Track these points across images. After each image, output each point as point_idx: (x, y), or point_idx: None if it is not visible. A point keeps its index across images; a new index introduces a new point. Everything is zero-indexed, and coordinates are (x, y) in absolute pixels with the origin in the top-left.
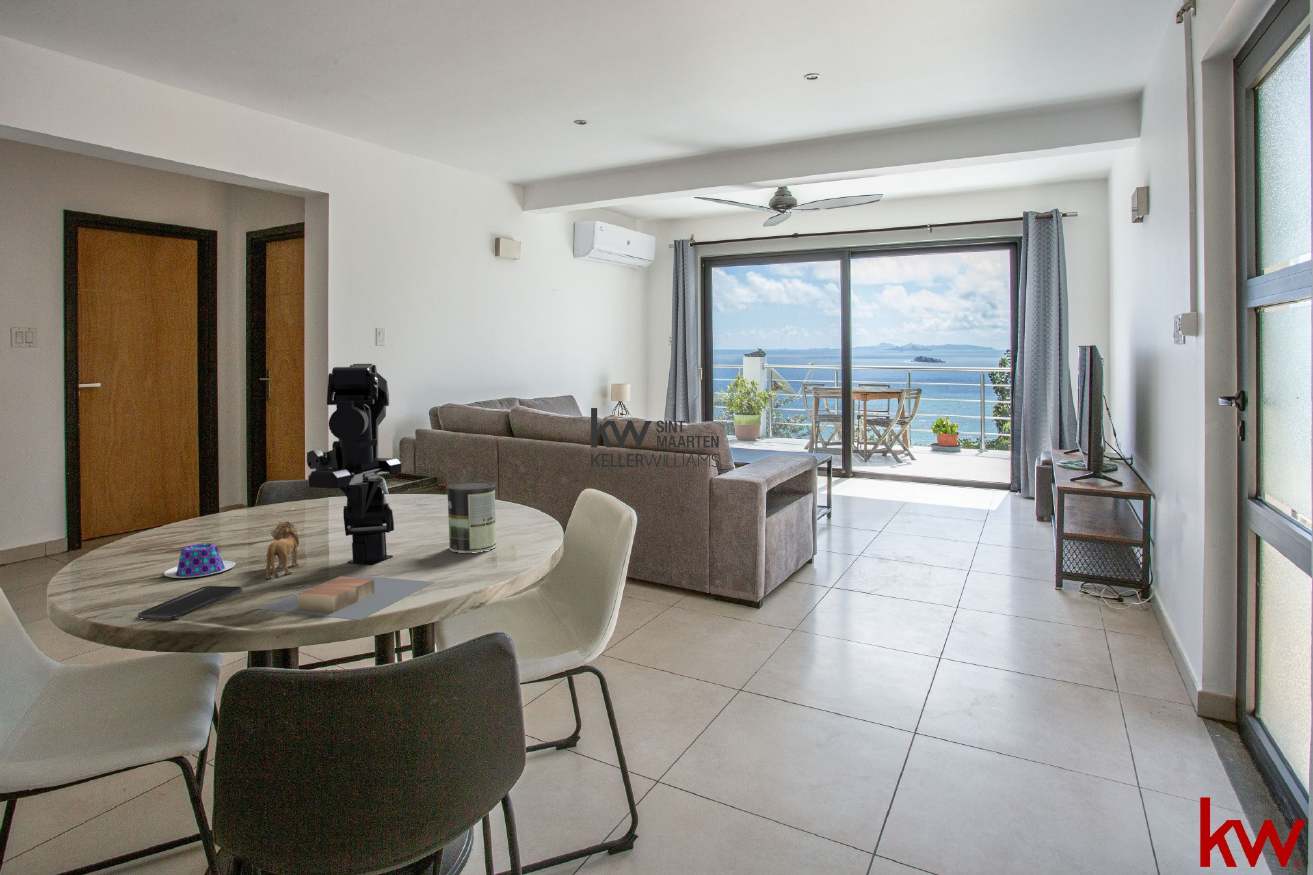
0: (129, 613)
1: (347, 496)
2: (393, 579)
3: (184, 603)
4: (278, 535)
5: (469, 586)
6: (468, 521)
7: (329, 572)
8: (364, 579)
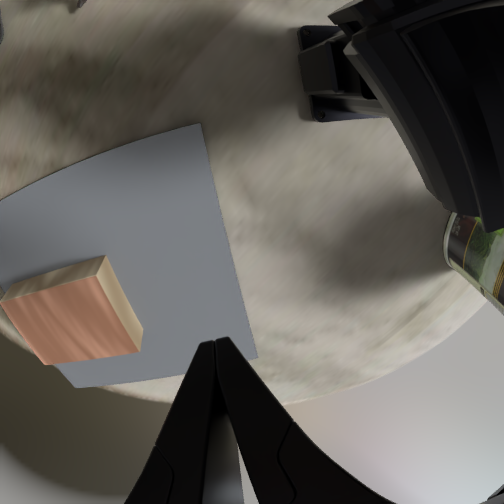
0: None
1: (138, 494)
2: (231, 287)
3: None
4: None
5: (272, 390)
6: (488, 292)
7: (208, 45)
8: (124, 339)
